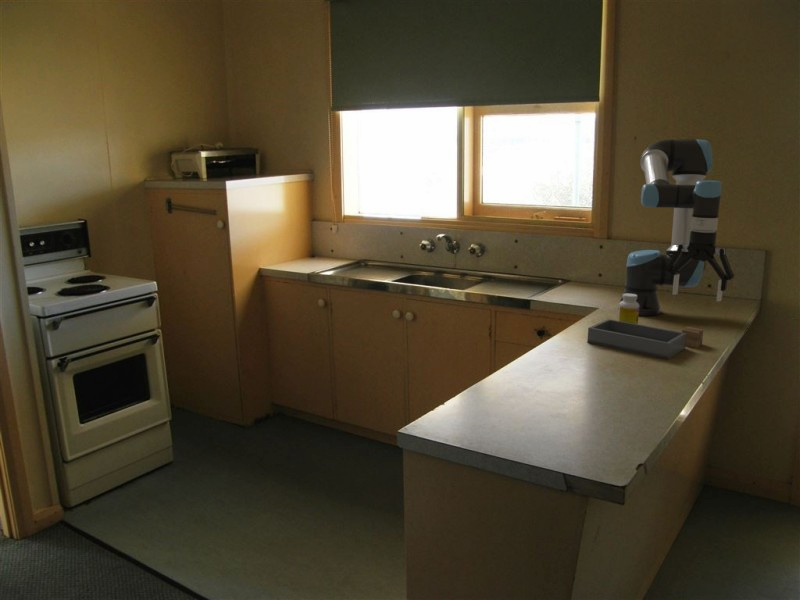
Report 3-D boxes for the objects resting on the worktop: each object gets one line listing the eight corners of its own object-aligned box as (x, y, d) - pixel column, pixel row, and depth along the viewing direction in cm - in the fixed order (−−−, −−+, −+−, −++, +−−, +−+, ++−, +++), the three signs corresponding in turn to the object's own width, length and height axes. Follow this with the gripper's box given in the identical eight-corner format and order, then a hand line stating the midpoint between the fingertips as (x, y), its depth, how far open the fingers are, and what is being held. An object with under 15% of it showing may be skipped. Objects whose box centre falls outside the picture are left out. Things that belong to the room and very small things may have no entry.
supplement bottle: (638, 334, 237) (641, 297, 234) (617, 333, 238) (620, 296, 235) (635, 329, 243) (639, 293, 240) (616, 328, 244) (618, 292, 241)
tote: (607, 333, 238) (608, 318, 237) (684, 348, 221) (686, 333, 220) (587, 342, 227) (588, 327, 225) (667, 359, 210) (669, 343, 209)
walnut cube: (686, 341, 229) (687, 326, 228) (701, 344, 226) (703, 329, 225) (680, 344, 226) (682, 329, 224) (696, 347, 222) (698, 332, 221)
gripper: (659, 228, 222) (653, 293, 227) (743, 235, 207) (734, 305, 211) (667, 226, 228) (661, 289, 233) (750, 233, 212) (741, 301, 217)
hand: (696, 297), depth 222 cm, fingers open, 13 cm apart
